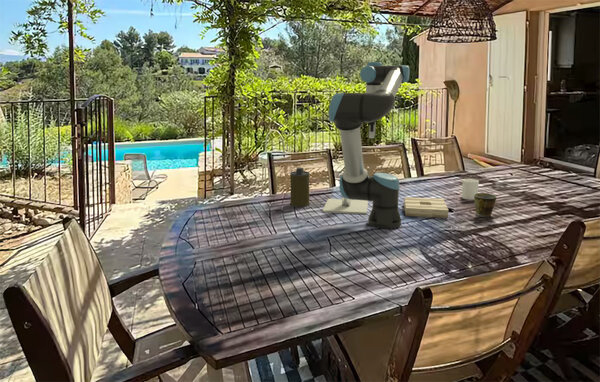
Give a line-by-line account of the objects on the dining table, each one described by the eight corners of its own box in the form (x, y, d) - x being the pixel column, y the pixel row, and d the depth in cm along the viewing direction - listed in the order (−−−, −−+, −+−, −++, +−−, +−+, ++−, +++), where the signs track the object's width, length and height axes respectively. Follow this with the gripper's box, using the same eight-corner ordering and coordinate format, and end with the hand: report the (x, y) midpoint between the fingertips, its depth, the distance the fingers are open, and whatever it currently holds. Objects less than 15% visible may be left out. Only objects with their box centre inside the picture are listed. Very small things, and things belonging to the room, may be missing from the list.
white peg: (350, 206, 230) (351, 182, 227) (341, 206, 231) (341, 182, 227) (351, 204, 235) (352, 180, 231) (342, 203, 235) (342, 179, 232)
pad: (366, 214, 221) (366, 212, 220) (322, 212, 225) (322, 210, 224) (368, 202, 242) (368, 200, 241) (328, 200, 246) (328, 198, 245)
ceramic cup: (476, 211, 225) (478, 192, 222) (497, 214, 219) (499, 195, 216) (467, 217, 215) (469, 197, 213) (488, 221, 209) (491, 201, 206)
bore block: (447, 217, 214) (448, 210, 213) (405, 215, 218) (405, 208, 217) (442, 206, 233) (443, 198, 232) (404, 204, 237) (404, 197, 236)
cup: (463, 199, 245) (465, 182, 242) (457, 194, 256) (459, 177, 254) (479, 200, 244) (480, 182, 242) (472, 194, 256) (474, 177, 253)
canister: (307, 207, 233) (307, 170, 228) (288, 206, 235) (287, 169, 230) (311, 202, 243) (311, 166, 238) (292, 201, 245) (292, 165, 240)
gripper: (380, 95, 209) (379, 139, 215) (381, 93, 233) (380, 133, 238) (364, 95, 211) (363, 139, 216) (367, 93, 234) (365, 133, 240)
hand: (372, 136), depth 227 cm, fingers open, 13 cm apart
